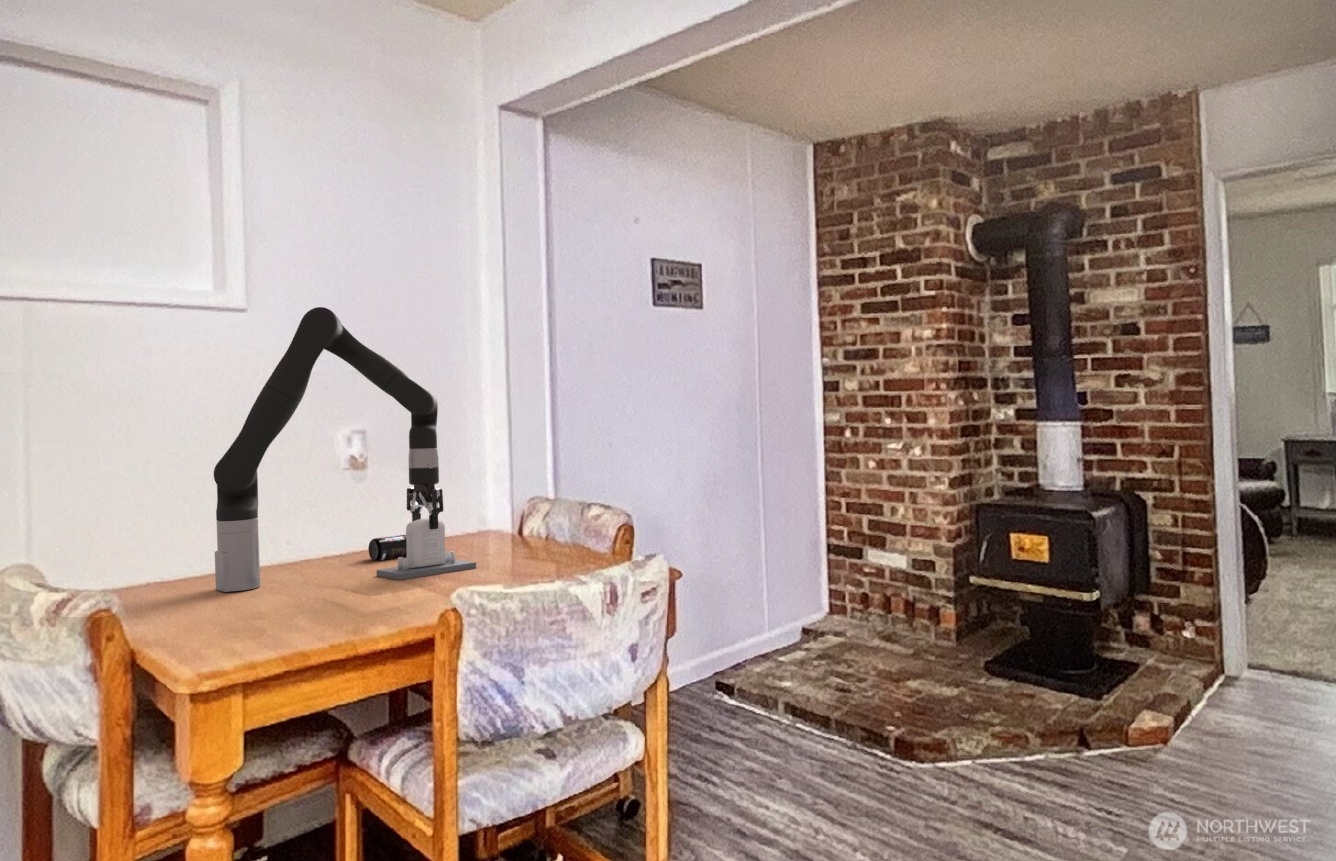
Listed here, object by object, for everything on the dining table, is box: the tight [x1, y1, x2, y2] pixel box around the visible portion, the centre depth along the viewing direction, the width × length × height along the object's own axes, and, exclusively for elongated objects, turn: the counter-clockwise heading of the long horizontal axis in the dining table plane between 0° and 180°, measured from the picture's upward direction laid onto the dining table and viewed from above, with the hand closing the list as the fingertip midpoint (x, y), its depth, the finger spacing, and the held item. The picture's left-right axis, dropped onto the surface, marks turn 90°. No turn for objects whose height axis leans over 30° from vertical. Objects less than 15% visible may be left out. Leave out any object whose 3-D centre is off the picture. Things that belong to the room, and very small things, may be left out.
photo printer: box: [405, 517, 446, 568], centre depth 226 cm, size 10×4×12 cm, turn 135°
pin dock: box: [375, 550, 477, 581], centre depth 226 cm, size 12×22×4 cm, turn 136°
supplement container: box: [368, 534, 407, 562], centre depth 252 cm, size 7×7×10 cm
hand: (425, 528), depth 226 cm, fingers open, 8 cm apart
